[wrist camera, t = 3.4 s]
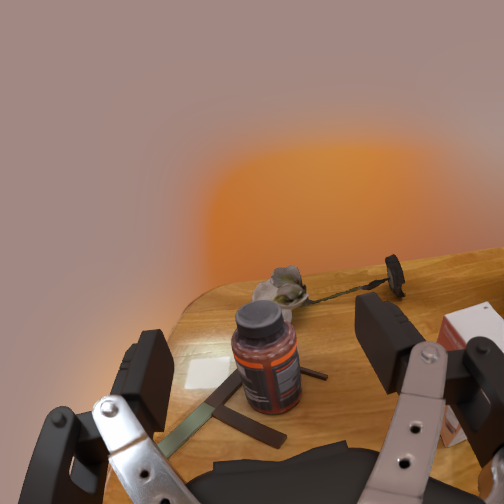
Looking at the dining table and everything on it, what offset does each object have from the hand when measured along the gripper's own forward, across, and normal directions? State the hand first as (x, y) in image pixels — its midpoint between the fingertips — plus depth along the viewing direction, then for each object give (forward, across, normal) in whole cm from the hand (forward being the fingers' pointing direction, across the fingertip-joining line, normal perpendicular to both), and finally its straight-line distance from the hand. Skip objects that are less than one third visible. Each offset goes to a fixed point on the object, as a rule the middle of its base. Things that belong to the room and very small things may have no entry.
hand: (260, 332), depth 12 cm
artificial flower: (+25, -10, +18) cm, 32 cm away
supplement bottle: (+11, 0, +18) cm, 21 cm away
